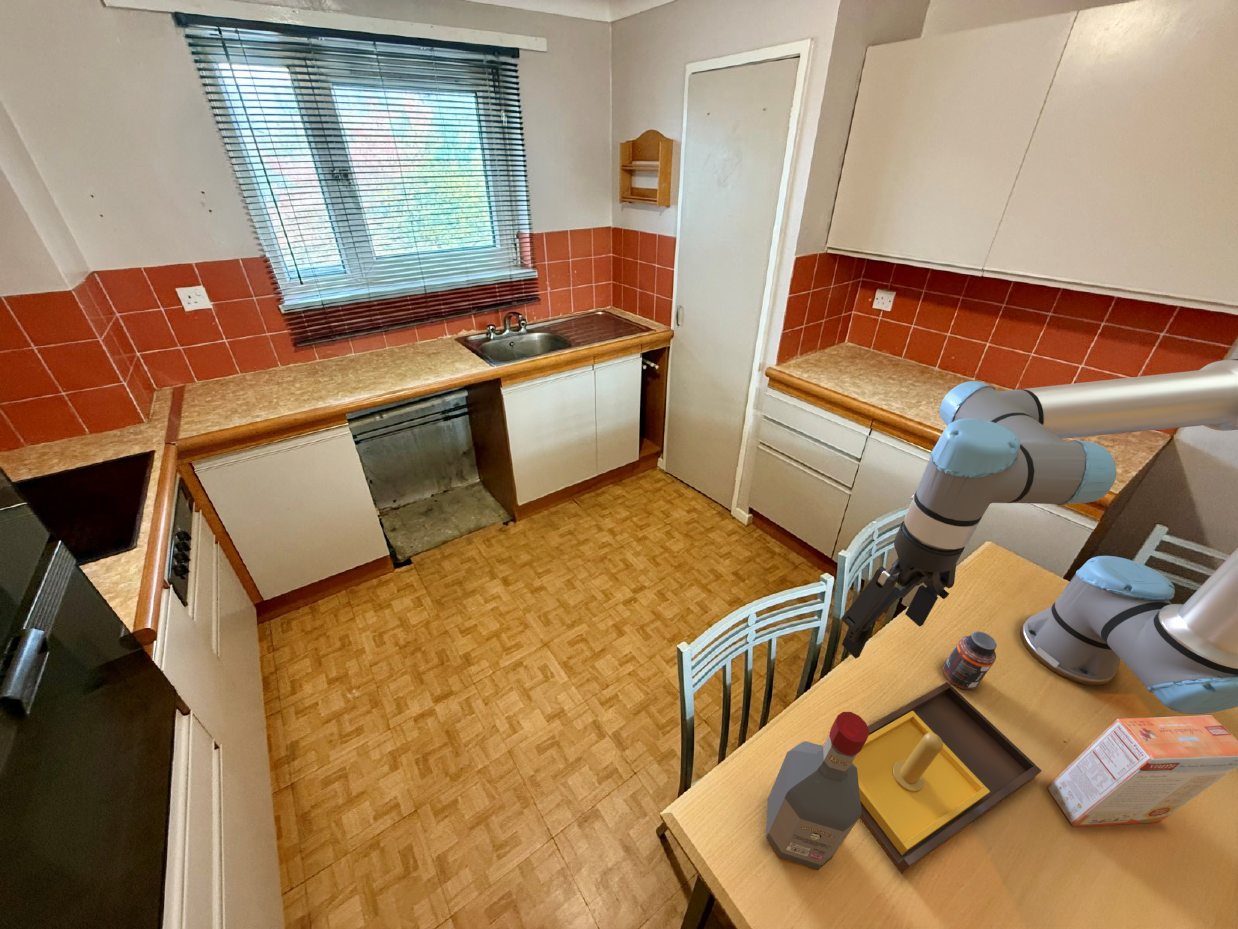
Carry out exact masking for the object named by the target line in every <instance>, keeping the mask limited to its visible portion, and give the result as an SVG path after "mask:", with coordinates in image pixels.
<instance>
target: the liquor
mask: <svg viewBox="0 0 1238 929" xmlns="http://www.w3.org/2000/svg"><path fill="white" fill-rule="evenodd" d="M867 726H868V724H867V722H866V721H865V719H863V718H862V717H861V716H860V715H859V714H857V713H854V712H853V711H842V712H839V714H837V715H836V718H835V719H834V721H833V723H832V725H831V727H830V730H829V734H828V737H827V738H826V740H825V742H824V744H823V745H821V744H818V743H814V742H810V741H806V740H804V741H801V742H799V743H798V744H797V745H796V746H794V747H793V748H791V749H790V750H788V751H787V752H786V754H785V756H784V758H783V761H782V763H781V766H780V769H779V771H778V773H777V776H776V778H775V781H774V783H773V784H772V787H771V790H770V792H769V795H768V797H767V801H766V802H767V803H766V804H767V805H766V831H765V838H766V840H767V841H768V843H769V845H770V846H771V848H772V849H773V851H774V852H775V853H776V855H777V857H778V858H779V859H782V860H785V861H788V862H792V863H795V864H797V865H801V866H804V867H807V868H810V869H813V870H816V871H819V870H820V869H821V868H823V867H824V866H825V865H826V864H827V863H828V862H830V861H831V860H832V859H833V858H834V856H835V855H836V853H837V852H838V850H839V848H840V847H841V846H842V845H843V843H844V842H845V840H846V838H847V837H848V835H849V834H850V833H851V831H852V829H854V826H855V825H856V823H858V821H859V819H861V818H860V816H861V815H862V812H861V802H860V792H859V782H858V773H857V768H856V766H855V765H854V764H853V763H852V762H853V760H854V758H855V757H856V755H857V753H859V752H860V751H861V749H862V748H863V746H864V744H865V742H866V740H867V738H868V734H869V729H868V727H867Z"/></svg>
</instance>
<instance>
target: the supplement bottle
mask: <svg viewBox="0 0 1238 929" xmlns="http://www.w3.org/2000/svg"><path fill="white" fill-rule="evenodd" d="M997 644H998V643H997V642H996V640H995V638H994V637H993V636H991V635H990V634H988V633H986V632H983V631H979V630H975V631H972V633H971V634H970V635H965V636H962V637H961V638H960V639H959V641H958V642H957V643H956V645H955V646H954V648H953V650H952V651H951V653H950V655H949V656H948V657H947V659H946V660H945V662H944V665H943V667H942V671H943V675H944V676H945V677H946V679H947V680H948V681H949V683H951V684H952V685H954V686H955V687H957V688H960V689H963V690H973V689H975V688H977V686H979V684H980V682H981V681H982V680H983V678H984V677H985V676H986V674H987V673H988V671H989V670H990V669H991V668H992V667H993V665H994V663H995V662H996V661H997V660H996V659H997V653H996V649H997V647H998V646H997Z"/></svg>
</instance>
